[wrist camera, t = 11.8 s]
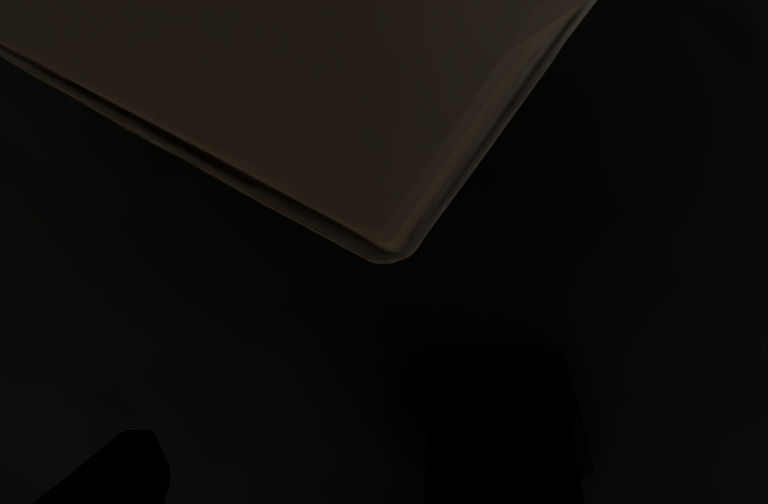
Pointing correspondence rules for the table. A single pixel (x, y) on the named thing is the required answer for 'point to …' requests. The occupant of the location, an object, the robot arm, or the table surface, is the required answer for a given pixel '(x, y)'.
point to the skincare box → (306, 94)
